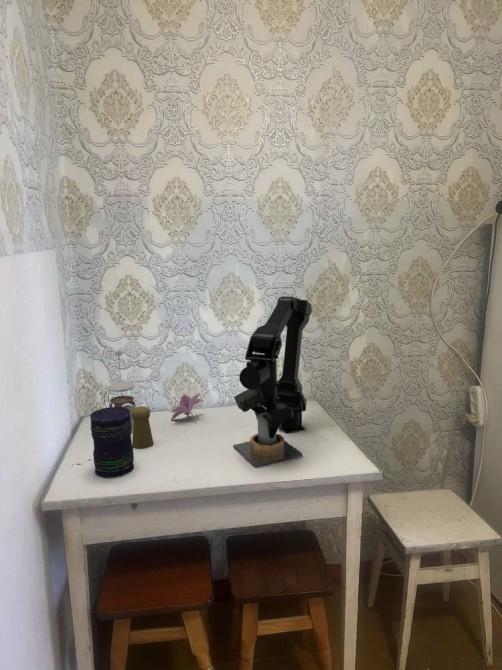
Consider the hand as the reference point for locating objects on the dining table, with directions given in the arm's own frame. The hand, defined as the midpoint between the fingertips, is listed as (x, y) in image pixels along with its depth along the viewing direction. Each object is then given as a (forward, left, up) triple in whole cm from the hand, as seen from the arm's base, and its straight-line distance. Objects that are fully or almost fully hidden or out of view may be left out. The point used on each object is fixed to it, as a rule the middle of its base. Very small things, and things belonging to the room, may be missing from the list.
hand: (266, 434), depth 136 cm
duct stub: (0, 0, -2) cm, 3 cm away
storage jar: (+39, -9, -5) cm, 40 cm away
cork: (+29, -21, -5) cm, 36 cm away
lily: (+12, -33, -5) cm, 36 cm away
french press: (+32, -36, -5) cm, 49 cm away
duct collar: (0, 0, -5) cm, 5 cm away
